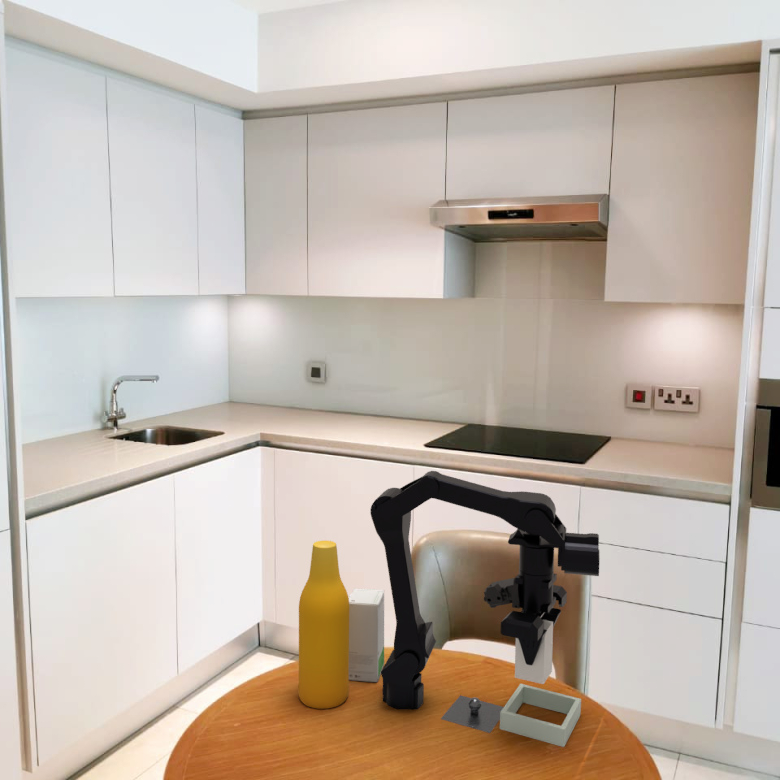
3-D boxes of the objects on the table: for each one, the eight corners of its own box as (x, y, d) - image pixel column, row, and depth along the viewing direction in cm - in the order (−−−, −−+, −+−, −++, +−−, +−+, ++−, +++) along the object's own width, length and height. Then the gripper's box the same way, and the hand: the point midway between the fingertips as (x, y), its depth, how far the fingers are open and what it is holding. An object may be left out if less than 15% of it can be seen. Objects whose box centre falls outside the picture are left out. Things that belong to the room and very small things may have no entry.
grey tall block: (543, 684, 131) (544, 632, 130) (514, 677, 133) (515, 627, 132) (551, 671, 136) (553, 621, 134) (523, 665, 138) (524, 616, 137)
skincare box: (377, 683, 149) (379, 605, 147) (343, 680, 150) (344, 602, 148) (384, 663, 158) (386, 588, 156) (352, 660, 159) (353, 586, 157)
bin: (499, 734, 133) (500, 712, 133) (519, 704, 143) (520, 683, 142) (563, 752, 128) (564, 729, 128) (580, 720, 138) (581, 698, 137)
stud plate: (440, 724, 136) (441, 703, 135) (460, 700, 144) (460, 680, 143) (489, 738, 132) (490, 717, 131) (507, 713, 140) (508, 693, 139)
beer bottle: (335, 714, 138) (337, 555, 135) (289, 703, 142) (289, 548, 138) (356, 690, 147) (358, 540, 143) (312, 680, 150) (313, 533, 146)
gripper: (508, 546, 144) (506, 628, 146) (471, 579, 128) (469, 671, 130) (568, 556, 139) (566, 640, 141) (537, 591, 123) (535, 686, 125)
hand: (534, 658), depth 134 cm, fingers closed on grey tall block, 5 cm apart
